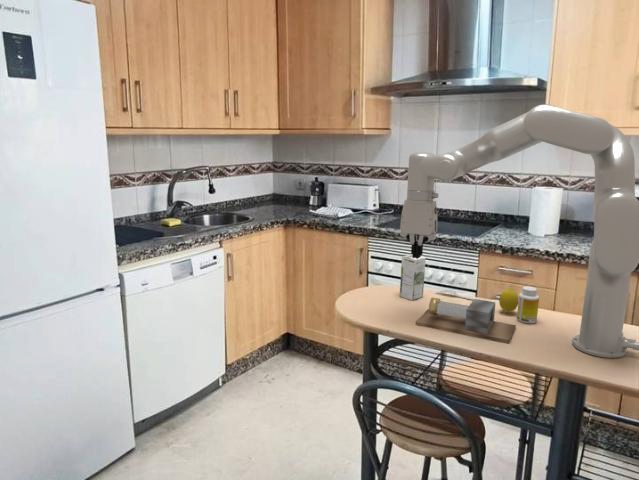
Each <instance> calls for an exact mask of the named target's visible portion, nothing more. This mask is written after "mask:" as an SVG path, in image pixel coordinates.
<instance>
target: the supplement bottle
mask: <svg viewBox="0 0 639 480" xmlns="http://www.w3.org/2000/svg"><path fill="white" fill-rule="evenodd" d="M539 301H540V296H539V295H538V289H537V288H536V287H534V286H523V287H522V290H521V292H520V293H519V294H518V306H517V311H516V315H517V316H516V319H517V320H518V321H519V322H521V323H524V324H535V323H536V322H537V321H538V312H539V305H540V302H539Z"/></svg>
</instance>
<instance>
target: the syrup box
mask: <svg viewBox="0 0 639 480" xmlns="http://www.w3.org/2000/svg"><path fill="white" fill-rule="evenodd" d="M412 255H413V254H408V255H404V256H402V257H401V265H400V266H401V270H400V282H399V283H400V284H399V285H400V286H399V297H400V298H404V299H407V300H409V301H415V300H418V299H422V298H423V297H424V286H425V284H424V283H425V275H426V274H425V272H426V271H425V270H426V257H425V256H424V255H421V257H419V258H418V259H417V258H412Z"/></svg>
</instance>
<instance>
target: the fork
mask: <svg viewBox="0 0 639 480" xmlns="http://www.w3.org/2000/svg"><path fill="white" fill-rule="evenodd" d="M443 293H449V294H452V295H454V296H457V297H458V298H462V299H466V300H471V301H473V300H474V299H475V298H473V297H472V298H471V297H466V296H462V295H460V294H458V293H457V292H456V291H455V290H453V289H446V290H442V291H436V293H435V295H437V294H443ZM479 300H481V299H479ZM484 300H485V299H484ZM485 301H487V300H485Z"/></svg>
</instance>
